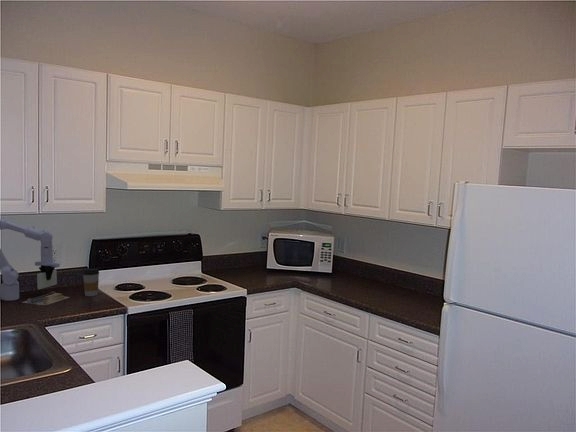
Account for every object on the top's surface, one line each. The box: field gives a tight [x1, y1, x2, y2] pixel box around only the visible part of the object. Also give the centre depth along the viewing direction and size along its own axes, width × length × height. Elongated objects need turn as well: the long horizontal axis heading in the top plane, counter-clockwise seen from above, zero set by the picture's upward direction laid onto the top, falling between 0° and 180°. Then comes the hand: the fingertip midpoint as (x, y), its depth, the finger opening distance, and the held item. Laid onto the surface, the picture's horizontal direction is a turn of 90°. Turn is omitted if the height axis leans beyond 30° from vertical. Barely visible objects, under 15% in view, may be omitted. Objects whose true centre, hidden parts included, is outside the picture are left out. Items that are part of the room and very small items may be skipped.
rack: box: [21, 291, 70, 306], centre depth 246 cm, size 15×17×3 cm
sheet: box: [36, 269, 58, 290], centre depth 252 cm, size 1×12×8 cm, turn 163°
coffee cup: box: [82, 267, 100, 297], centre depth 258 cm, size 8×8×15 cm
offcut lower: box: [43, 295, 66, 304], centre depth 244 cm, size 4×10×2 cm, turn 163°
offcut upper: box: [45, 292, 63, 300], centre depth 244 cm, size 4×8×2 cm, turn 163°
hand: (47, 279), depth 252 cm, fingers closed on sheet, 1 cm apart
